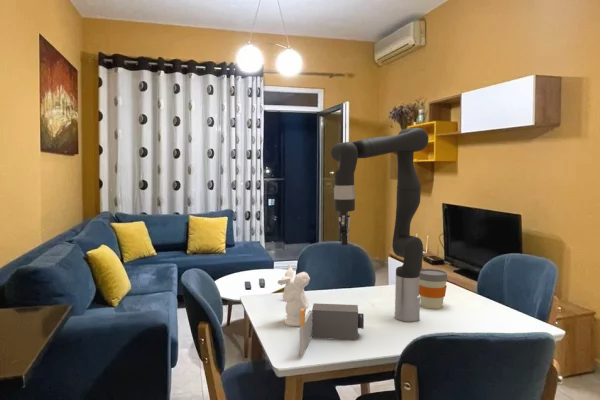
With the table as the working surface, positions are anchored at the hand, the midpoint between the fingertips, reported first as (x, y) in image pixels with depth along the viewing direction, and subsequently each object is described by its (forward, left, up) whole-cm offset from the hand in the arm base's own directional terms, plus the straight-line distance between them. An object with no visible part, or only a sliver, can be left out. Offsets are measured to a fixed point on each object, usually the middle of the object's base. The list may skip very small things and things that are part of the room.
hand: (344, 244), depth 167 cm
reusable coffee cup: (-38, -33, -32) cm, 60 cm away
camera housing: (+3, +7, -32) cm, 32 cm away
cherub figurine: (+20, -3, -32) cm, 38 cm away
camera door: (+12, +20, -31) cm, 38 cm away
